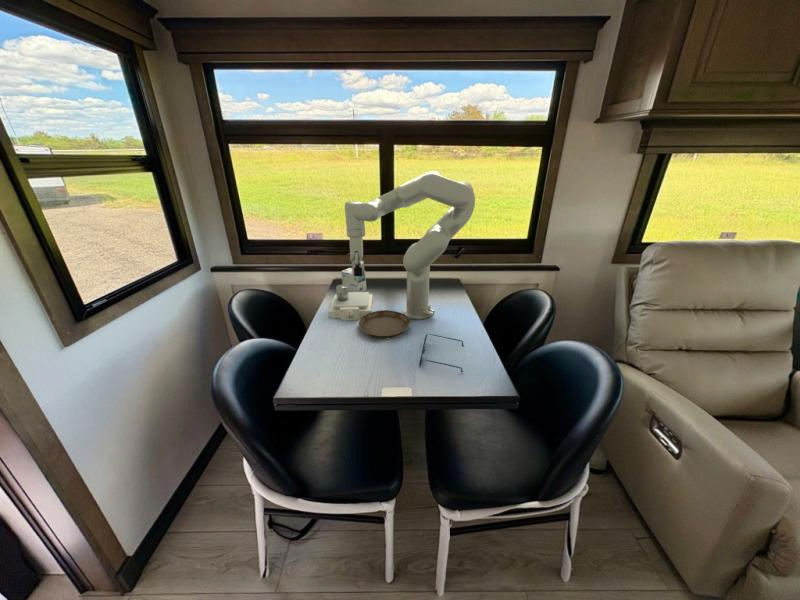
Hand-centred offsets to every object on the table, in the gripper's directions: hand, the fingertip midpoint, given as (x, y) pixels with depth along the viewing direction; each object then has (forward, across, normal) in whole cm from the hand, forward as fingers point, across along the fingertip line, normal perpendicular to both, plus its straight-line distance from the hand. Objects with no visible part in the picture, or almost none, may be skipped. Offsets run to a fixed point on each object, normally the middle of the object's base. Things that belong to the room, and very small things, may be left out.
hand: (358, 273), depth 144 cm
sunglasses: (+18, +41, +30) cm, 54 cm away
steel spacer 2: (+1, 0, 0) cm, 1 cm away
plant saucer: (+18, +19, +10) cm, 28 cm away
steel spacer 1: (+12, -1, -8) cm, 15 cm away
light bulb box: (+17, -22, -4) cm, 28 cm away
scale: (+17, +1, -4) cm, 18 cm away
